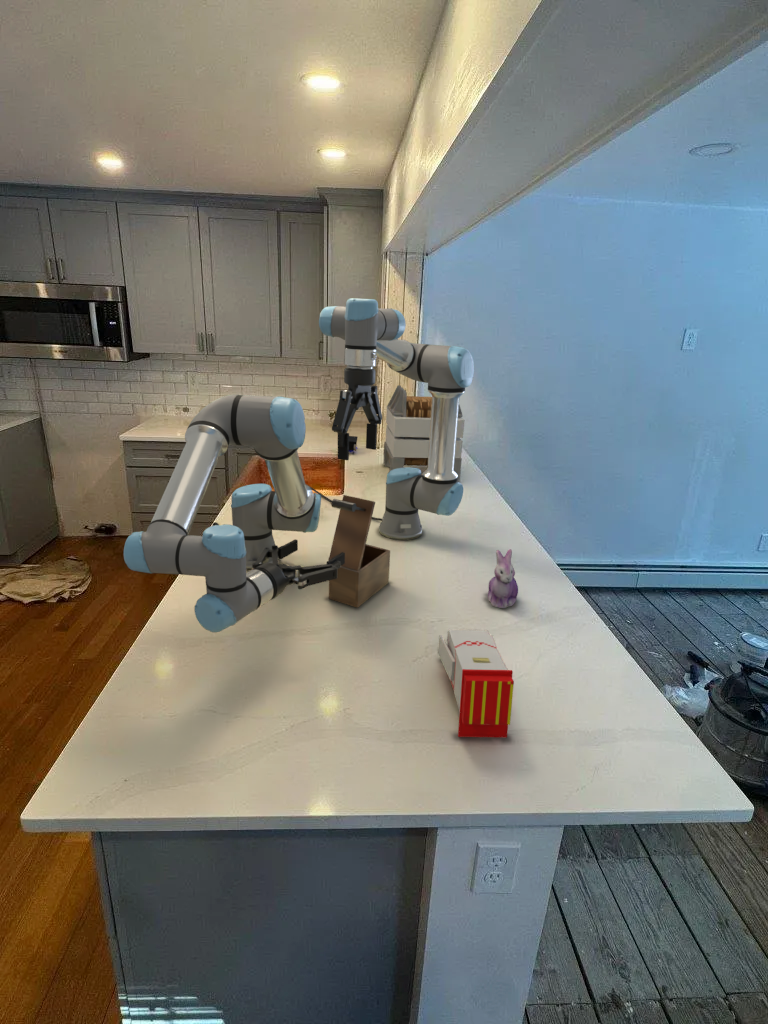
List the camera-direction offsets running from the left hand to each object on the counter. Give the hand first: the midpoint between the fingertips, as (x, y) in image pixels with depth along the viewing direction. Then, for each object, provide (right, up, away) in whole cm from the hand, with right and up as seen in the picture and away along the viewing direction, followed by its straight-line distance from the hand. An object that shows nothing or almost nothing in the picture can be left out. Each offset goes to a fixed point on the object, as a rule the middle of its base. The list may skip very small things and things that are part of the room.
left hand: (319, 551), depth 136 cm
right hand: (+9, +24, +7) cm, 26 cm away
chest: (+9, -13, +23) cm, 28 cm away
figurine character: (-2, +42, +174) cm, 179 cm away
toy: (+33, -28, -17) cm, 47 cm away
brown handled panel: (+7, +4, +13) cm, 15 cm away
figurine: (+48, -15, +21) cm, 55 cm away
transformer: (+33, +28, +139) cm, 146 cm away
